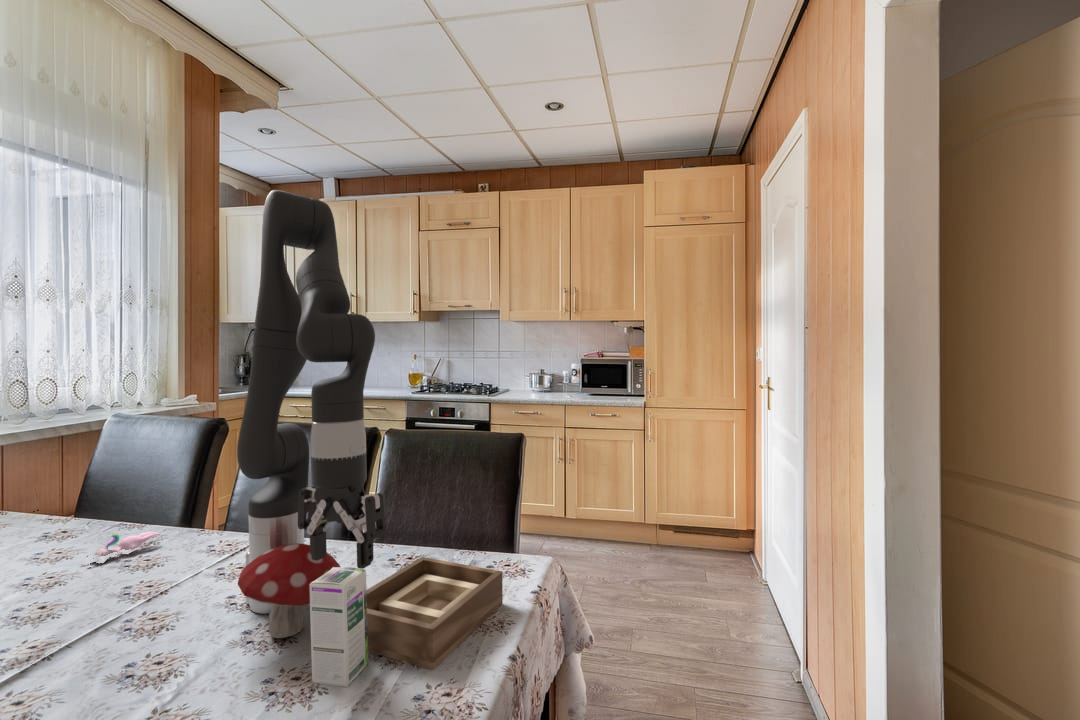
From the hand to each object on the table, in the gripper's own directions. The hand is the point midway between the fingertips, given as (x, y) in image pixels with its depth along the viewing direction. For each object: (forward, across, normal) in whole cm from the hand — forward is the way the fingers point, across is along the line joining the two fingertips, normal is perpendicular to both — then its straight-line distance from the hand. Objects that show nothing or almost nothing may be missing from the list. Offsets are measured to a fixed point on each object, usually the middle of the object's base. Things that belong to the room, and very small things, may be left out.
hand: (341, 562), depth 76 cm
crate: (+16, -3, -17) cm, 24 cm away
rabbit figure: (+15, +80, -15) cm, 83 cm away
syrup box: (+16, 0, 0) cm, 16 cm away
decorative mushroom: (+16, +15, -5) cm, 23 cm away
